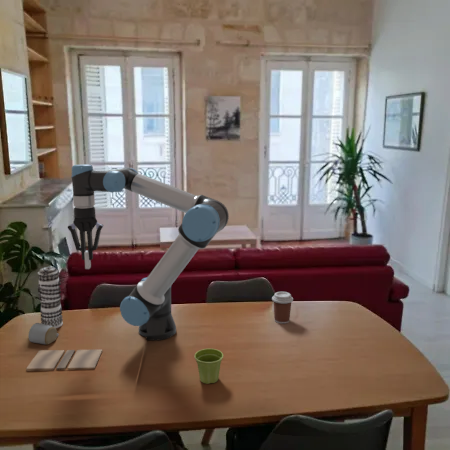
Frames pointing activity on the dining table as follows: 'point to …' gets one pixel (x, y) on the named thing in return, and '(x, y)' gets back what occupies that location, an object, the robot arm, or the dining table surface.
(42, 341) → the ceramic mug
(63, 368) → the centre strip
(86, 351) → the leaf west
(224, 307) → the dining table surface
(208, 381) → the plant pot
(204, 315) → the dining table surface
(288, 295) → the coffee cup
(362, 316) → the dining table surface
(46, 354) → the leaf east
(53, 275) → the decorative candle
